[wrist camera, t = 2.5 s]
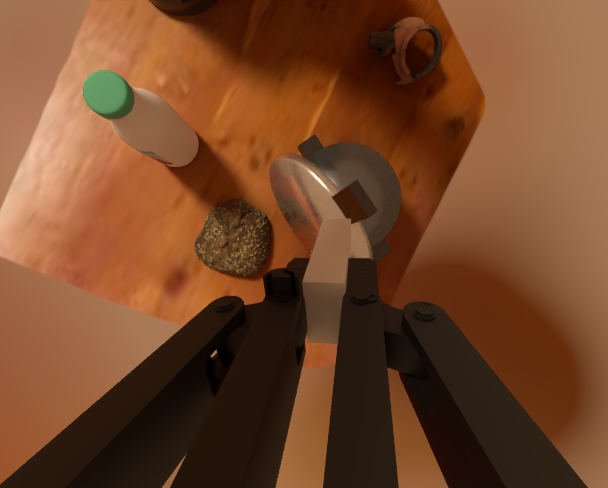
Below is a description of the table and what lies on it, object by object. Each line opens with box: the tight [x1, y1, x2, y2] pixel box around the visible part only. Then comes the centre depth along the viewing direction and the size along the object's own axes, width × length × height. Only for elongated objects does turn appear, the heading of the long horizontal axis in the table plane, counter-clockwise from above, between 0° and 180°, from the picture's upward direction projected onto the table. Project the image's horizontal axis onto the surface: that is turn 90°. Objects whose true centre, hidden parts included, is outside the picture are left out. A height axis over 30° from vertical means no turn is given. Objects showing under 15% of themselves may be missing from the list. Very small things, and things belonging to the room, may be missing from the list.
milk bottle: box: [83, 70, 199, 167], centre depth 41 cm, size 8×8×20 cm
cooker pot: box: [287, 135, 401, 262], centre depth 48 cm, size 17×21×9 cm
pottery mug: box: [367, 17, 442, 85], centre depth 49 cm, size 12×10×8 cm
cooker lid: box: [269, 153, 378, 260], centre depth 33 cm, size 20×17×1 cm
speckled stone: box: [194, 199, 270, 276], centre depth 50 cm, size 13×12×5 cm
